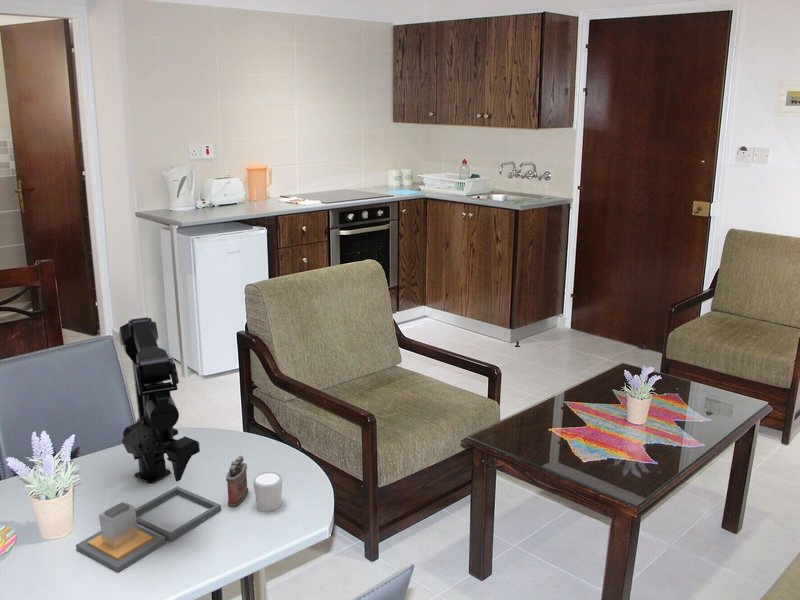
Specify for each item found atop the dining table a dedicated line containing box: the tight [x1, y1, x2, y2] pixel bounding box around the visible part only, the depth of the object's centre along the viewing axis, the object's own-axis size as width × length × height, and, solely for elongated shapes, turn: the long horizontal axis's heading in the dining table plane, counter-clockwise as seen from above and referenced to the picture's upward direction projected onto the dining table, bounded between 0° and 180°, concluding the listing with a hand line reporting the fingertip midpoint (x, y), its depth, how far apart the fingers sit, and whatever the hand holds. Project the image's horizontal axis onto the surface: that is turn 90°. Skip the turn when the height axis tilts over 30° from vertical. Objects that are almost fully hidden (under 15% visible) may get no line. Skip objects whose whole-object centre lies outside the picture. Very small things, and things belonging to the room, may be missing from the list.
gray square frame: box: [135, 486, 222, 543], centre depth 176 cm, size 15×15×2 cm
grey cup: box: [252, 471, 283, 513], centre depth 179 cm, size 7×7×7 cm
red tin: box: [225, 455, 249, 509], centre depth 182 cm, size 8×3×10 cm, turn 168°
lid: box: [75, 524, 166, 573], centre depth 164 cm, size 14×13×2 cm
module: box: [98, 501, 138, 549], centre depth 163 cm, size 4×6×8 cm, turn 147°
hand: (164, 474), depth 170 cm, fingers open, 9 cm apart
